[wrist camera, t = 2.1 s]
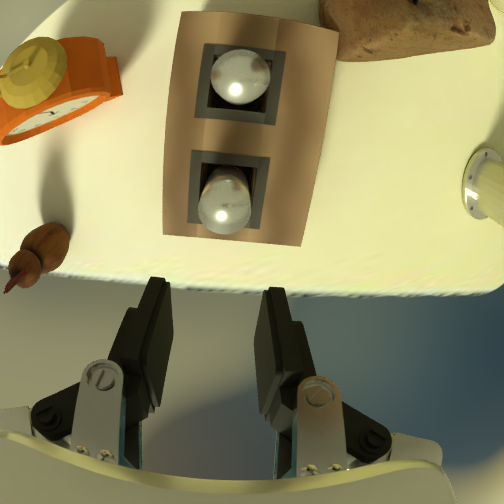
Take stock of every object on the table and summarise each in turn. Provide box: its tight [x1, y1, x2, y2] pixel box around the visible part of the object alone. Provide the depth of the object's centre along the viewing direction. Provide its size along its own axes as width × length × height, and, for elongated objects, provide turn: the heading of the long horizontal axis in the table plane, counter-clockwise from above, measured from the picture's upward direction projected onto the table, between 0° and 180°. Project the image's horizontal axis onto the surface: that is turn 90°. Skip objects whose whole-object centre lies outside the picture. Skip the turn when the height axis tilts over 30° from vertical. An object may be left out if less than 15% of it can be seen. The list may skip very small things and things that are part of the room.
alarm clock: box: [0, 37, 123, 145], centre depth 15 cm, size 13×6×20 cm, turn 100°
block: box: [319, 0, 496, 62], centre depth 13 cm, size 11×8×20 cm
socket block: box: [163, 11, 339, 247], centre depth 25 cm, size 14×22×7 cm, turn 173°
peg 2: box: [198, 165, 251, 234], centre depth 23 cm, size 4×4×7 cm
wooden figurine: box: [3, 223, 69, 294], centre depth 26 cm, size 7×6×15 cm
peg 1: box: [211, 49, 270, 105], centre depth 18 cm, size 4×4×7 cm
